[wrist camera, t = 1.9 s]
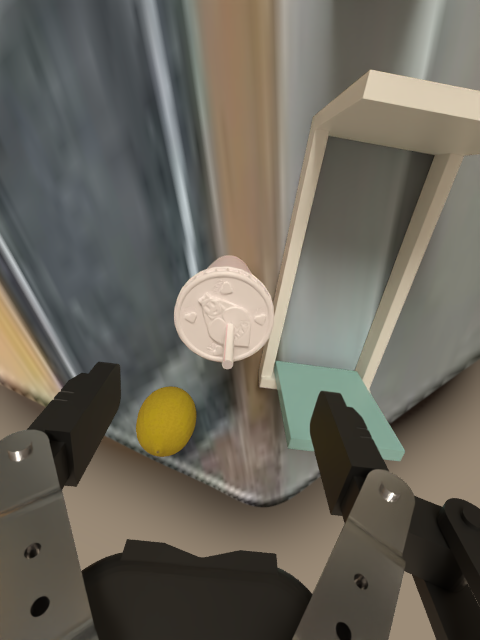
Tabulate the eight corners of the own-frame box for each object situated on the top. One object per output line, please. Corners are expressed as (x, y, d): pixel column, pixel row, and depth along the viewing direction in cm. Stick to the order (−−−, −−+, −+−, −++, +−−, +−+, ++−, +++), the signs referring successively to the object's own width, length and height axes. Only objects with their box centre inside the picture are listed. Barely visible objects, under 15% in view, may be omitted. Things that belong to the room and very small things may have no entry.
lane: (257, 374, 32) (266, 461, 22) (312, 116, 23) (370, 69, 13) (357, 387, 33) (409, 477, 23) (452, 142, 23) (609, 117, 14)
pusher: (273, 369, 31) (287, 448, 22) (275, 360, 31) (291, 438, 21) (353, 379, 32) (400, 460, 22) (356, 371, 31) (405, 451, 22)
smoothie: (225, 320, 30) (215, 426, 17) (178, 271, 28) (127, 350, 15) (278, 279, 28) (310, 363, 15) (232, 223, 26) (226, 268, 13)
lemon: (192, 417, 35) (180, 480, 28) (144, 405, 34) (119, 466, 27) (206, 379, 33) (197, 437, 26) (155, 365, 32) (131, 420, 25)
